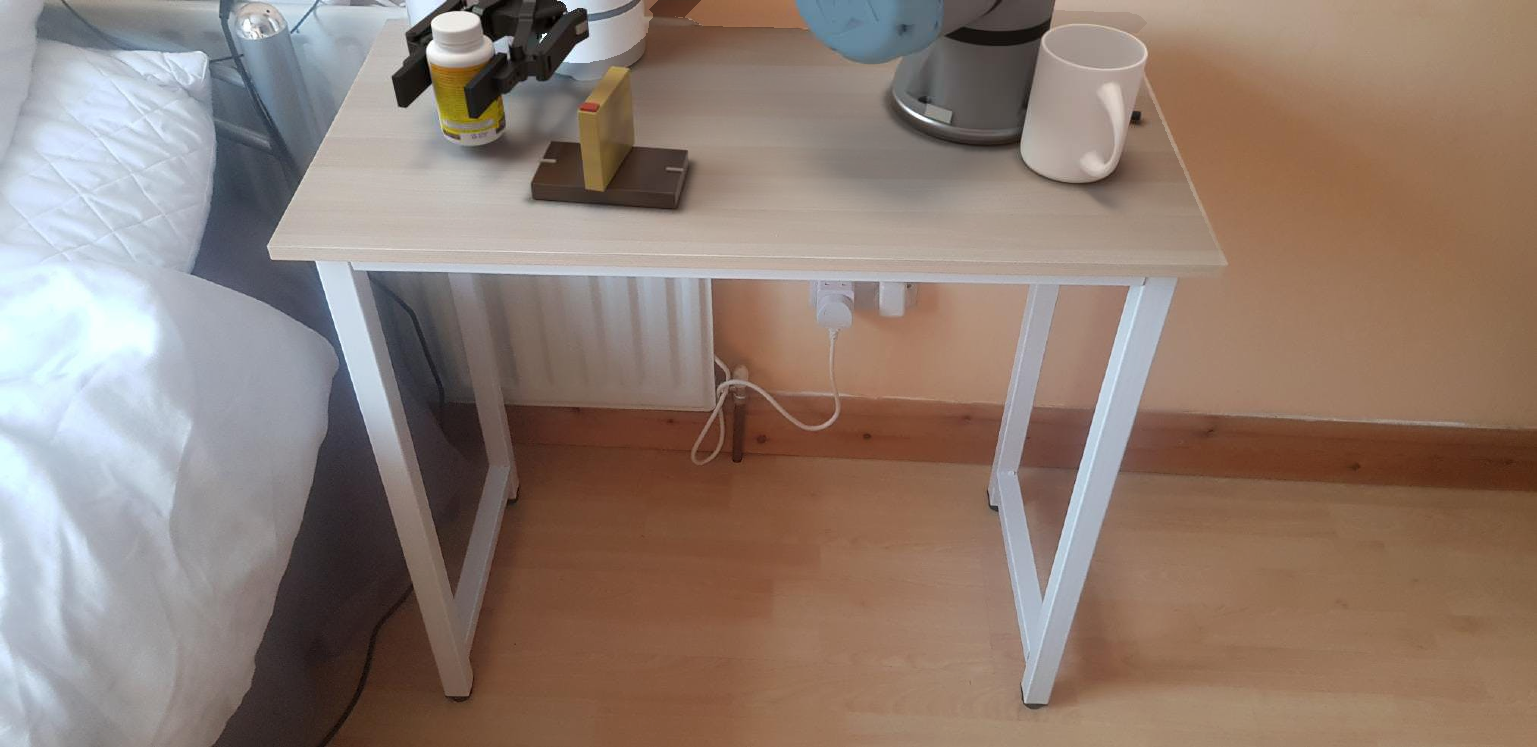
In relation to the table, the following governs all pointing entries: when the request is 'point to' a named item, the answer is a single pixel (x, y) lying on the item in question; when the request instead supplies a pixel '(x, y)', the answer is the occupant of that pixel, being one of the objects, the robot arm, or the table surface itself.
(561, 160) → the panel
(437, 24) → the supplement bottle
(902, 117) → the robot arm
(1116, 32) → the mug
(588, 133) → the lock turn
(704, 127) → the table surface
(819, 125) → the table surface
